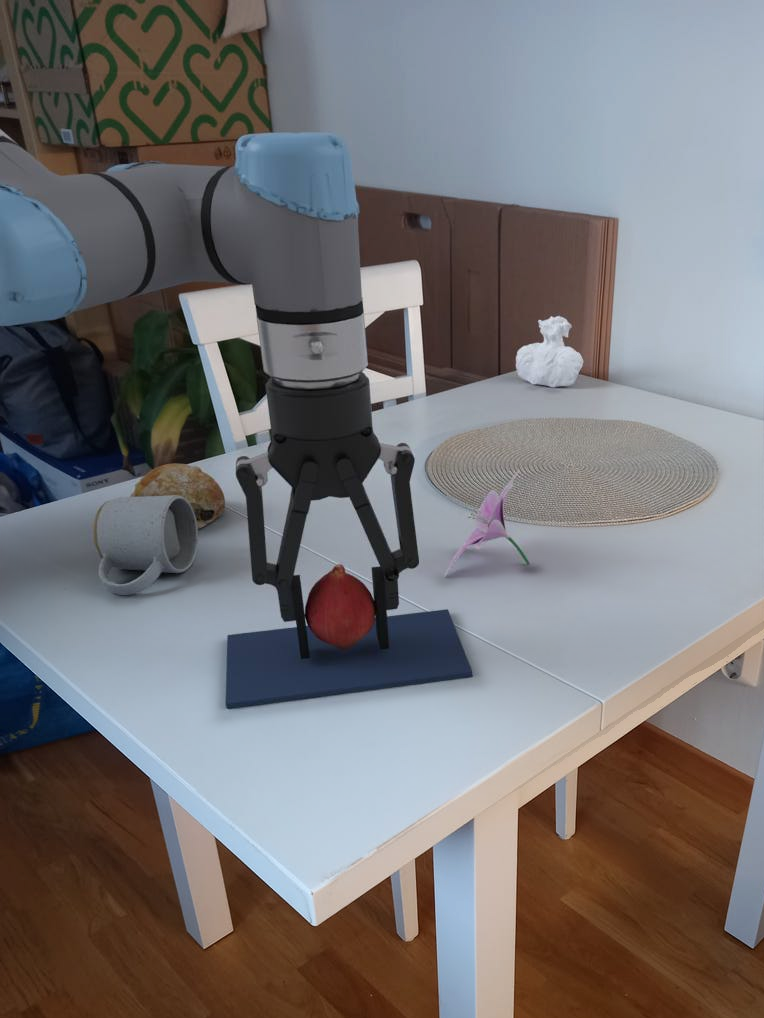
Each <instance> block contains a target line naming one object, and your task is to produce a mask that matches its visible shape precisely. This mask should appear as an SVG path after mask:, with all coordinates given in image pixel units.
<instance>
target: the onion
mask: <svg viewBox="0 0 764 1018" xmlns="http://www.w3.org/2000/svg"><path fill="white" fill-rule="evenodd" d="M375 610H376V606H375V602H374V596H373V594H372V593H371V591H370V590H369V588H368V587H367V586H366V585H365V583H363V582H362V581H361V580H360V579H359V578H358V577H356V576H354V575H352V574H350V573H347V571H346V568H345V566H344V564H341V563H337V564H336V565H334V566H333V567H332V569H331V570H330V571H329V572H327V573H326V574H324V575H323V576H322V577H321V578H320V579H318V581H316V582H315V583H314V585H312V587H311V589H310V590H309V593H308V595H307V599H306V603H305V606H304V613H305V621H306V626H309V628H310V630H311V631H312V632H313V634H314V635H315V636H316V637H317V638H318V639H320V640H321V641H323V642H325V643H327V644H329V645H332V646H334V647H337V648H339V649H342V650H347V649H350V648H351V647H352V646H353V645H354V644H355V643H357V642H359V641H360V640H361V639H362V638H363V637H364V636H365V635H366V634H367V633H368V632H369V631H370V630H371V628H372V626H373V624H374V621H375Z"/></svg>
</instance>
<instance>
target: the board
mask: <svg viewBox="0 0 764 1018" xmlns="http://www.w3.org/2000/svg"><path fill="white" fill-rule="evenodd" d="M387 623H388V638H389V649H381V650H380V646H379V641H378V637H377V632H376V619H375V621H374V624H373V626H372V628H371V630H370V631H369V632H368V633H367V634H366V635H365V636H364V637H363V638H362V639H361V640H360V641H359V642H357V643H355V644H354V645H353V646H352V647H351V648H350V649H347V650H342V649H339V648H337V647H334V646H332V645H329V644H327V643H325V642H323V641H321V640H320V639H318V638H317V637H316V636H315V635H314V634H313V632H312V631H311V630H310V628H309V626H308V625H306V629H307V637H308V646H309V654H310V658H307V659H301V656H300V648H299V640H298V633H297V626H293V627H292V626H291V627H283V628H275V629H268V630H267V629H266V630H259V631H252V632H251V631H249V632H244V633H243V632H241V633H234V634H227V639H226V641H227V642H226V647H227V648H226V673H225V675H226V676H225V708H226V709H234V708H242V707H243V708H244V707H249V706H257V705H258V706H259V705H266V704H272V703H280V702H287V701H289V702H290V701H296V700H303V699H310V698H318V697H327V696H333V695H341V694H348V693H356V692H357V693H358V692H363V691H373V690H378V689H379V690H380V689H386V688H394V687H401V686H402V687H403V686H410V685H417V684H425V683H432V682H441V681H447V680H456V679H464V678H469V677H473V672H474V671H473V668H472V666H471V664H470V662H469V659H468V657H467V655H466V652H465V649H464V647H463V643H462V642H461V639H460V636H459V634H458V631H457V629H456V627H455V624H454V622H453V619H452V615H451V614H450V610H449V609H448V608H445V609H439V610H438V609H437V610H429V611H420V612H412V613H411V612H410V613H403V614H395V615H387Z"/></svg>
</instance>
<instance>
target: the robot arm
mask: <svg viewBox="0 0 764 1018" xmlns="http://www.w3.org/2000/svg"><path fill="white" fill-rule="evenodd" d="M234 149H235V150H234V151H235V152H234V153H235V161H234V165H228V166H219V165H217V166H216V165H197V164H176V163H165V162H164V161H154V160H149V161H145V162H132V163H124V164H123V163H122V164H117V165H114V166H111V167H109V168H108V169H107V170H106V171H102V172H88V173H77V174H67V175H60V174H57V173H55V172H53V171H51V170H50V169H49V168H48V167H46V166H45V165H44V164H43V163H42V162H41V161H39V160H38V159H37V158H36V157H34V156H33V155H32V154H31V153H30V152H28V151H27V150H25V149H24V148H23V147H22V146H21V145H19V143H18V142H16V141H15V140H14V139H13V138H11V137H10V136H9V135H8V134H7V133H6V132H5V131H3V130H2V129H1V128H0V327H10V326H17V325H22V324H23V325H24V324H30V323H36V322H37V323H40V322H44V321H55V320H58V319H61V318H64V317H67V316H68V315H69V314H71V313H76V312H78V311H83V310H87V309H90V308H94V307H97V306H100V305H104V304H107V303H111V302H115V301H119V300H123V299H126V298H127V299H128V298H134V297H137V296H141V295H145V294H149V293H152V292H156V291H159V290H163V289H167V288H171V287H172V288H173V287H176V286H179V285H183V284H188V283H194V282H204V283H205V282H207V283H224V284H225V283H226V284H235V285H242V286H243V285H244V286H245V285H246V286H249V285H251V289H252V295H253V302H254V305H255V315H256V324H257V330H258V331H257V332H258V338H259V346H260V353H261V361H262V367H263V372H264V373H265V374H267V375H268V376H269V378H268V380H267V382H266V383H265V393H266V400H267V401H266V402H267V409H268V416H269V425H270V432H271V433H270V434H271V439H270V442H269V444H268V446H267V451H266V452H264V453H260V454H258V455H255V456H253V457H249V456H246V455H243V456H242V455H240V456H239V457H237V458H236V460H235V477H236V480H237V481H238V484H239V486H240V488H241V490H242V492H243V495H244V497H245V502H246V503H245V504H246V516H247V531H248V543H249V544H248V545H249V553H250V554H249V555H250V556H249V557H250V568H251V579H252V582H253V584H255V585H257V586H262V585H265V584H266V585H270V586H272V587H274V588H275V589H276V591H277V597H278V605H279V606H278V607H279V612H280V613H279V614H280V618H281V619H282V621H283V623H287V622H295V624H296V627H297V633H298V640H299V648H300V656H301V659H307V658H310V654H309V646H308V637H307V629H306V626H307V621H306V618H305V606H304V597H303V591H302V582H301V574H295V570H296V566H297V561H298V558H299V557H298V556H299V553H300V548H301V544H302V540H303V539H302V538H303V534H304V530H305V526H306V521H307V517H308V515H309V512H310V509H311V508H310V507H311V503H312V501H321V500H323V499H326V498H336V499H337V498H338V499H346V498H349V500H350V502H351V504H352V506H353V509H354V510H355V513H356V515H357V517H358V519H359V522H360V524H361V527H362V529H363V531H364V533H365V535H366V537H367V540H368V542H369V544H370V546H371V549H372V552H373V554H374V556H375V559H376V560H377V562H378V566H372V567H370V568H371V578H372V579H371V580H372V591H373V592H372V593H373V594H372V595H373V599H374V602H375V606H376V610H375V619H376V632H377V637H378V641H379V646H380V650H381V649H389V638H388V623H387V616H388V612H387V611H392V610H397V609H398V608H399V605H400V595H399V594H400V593H399V580H398V579H399V578H400V573H401V572H403V571H405V570H407V569H410V570H413V569H416V568H417V567H418V566H419V565H420V557H419V550H418V548H419V547H418V540H417V539H418V538H417V531H416V525H415V524H416V523H415V516H414V515H415V514H414V508H413V507H414V506H413V498H412V490H411V484H410V483H411V479H412V474H413V470H414V467H415V466H414V465H415V461H416V458H415V456H414V453H413V452H412V449H411V447H410V446H409V444H407V443H406V442H400V443H398V444H396V445H392V444H387V443H382V442H380V440H379V438H378V437H377V435H376V434H375V432H374V427H373V414H372V400H371V399H372V398H371V386H370V379H369V377H368V376H367V375H366V374H365V373H364V372H363V371H364V370H366V368H367V367H368V365H369V360H368V349H367V348H368V347H367V336H366V335H367V334H366V323H365V322H366V321H365V311H364V301H363V299H364V298H363V292H362V290H363V289H362V276H361V275H362V274H361V273H362V272H361V257H360V256H361V255H360V237H359V236H360V235H359V214H360V204H359V201H358V200H357V194H356V193H357V192H356V185H355V177H354V170H353V162H352V153H351V151H350V150H351V149H350V147H349V145H348V144H347V142H346V140H344V139H343V138H342V137H340V136H339V135H337V134H336V133H331V132H317V131H315V132H313V131H304V132H303V131H301V132H287V131H286V132H259V133H248V134H244V135H242V136H240V137H239V138H238V139H237V141H236V144H235V148H234ZM378 460H381V461H382V462H383V467H384V470H385V472H386V473H387V474H388V475H390V483H391V490H392V497H393V498H392V499H393V505H394V513H395V522H396V527H397V534H398V535H397V536H398V544H399V548H398V549H397V550H394V551H392V550H391V547H390V545H389V543H388V540H387V538H386V536H385V533H384V531H383V529H382V526H381V524H380V523H379V522H380V521H379V519H378V517H377V514H376V513H375V509H374V508H373V505H372V503H371V501H370V498H369V496H368V494H367V491H366V488H365V485H364V484H363V483H364V482H365V480H366V479H367V478H368V475H369V474H370V473H371V471H372V469H373V468H374V466H375V464H376V463H377V462H378ZM271 469H274V471H276V473H277V474H278V475H279V476H280V477H281V478H282V479H283V480H284V481H285V482H286V483H287V484H288V485H289V486H290V487H291V490H290V494H289V495H290V497H289V503H288V507H287V511H286V517H285V522H284V527H283V531H282V535H281V541H280V545H279V551H278V555H277V559H276V563H271V562H268V557H267V541H266V529H265V515H264V513H265V511H264V500H263V487H264V486H266V484H267V483H268V481H269V480H268V479H269V478H268V477H269V476H268V473H269V471H270V470H271Z"/></svg>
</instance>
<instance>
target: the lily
mask: <svg viewBox="0 0 764 1018" xmlns="http://www.w3.org/2000/svg"><path fill="white" fill-rule="evenodd" d="M520 471H521V469H519V470H518V471H517V472H516V473H515V474H514V475H513V476H512V478H511V479H510V480H509V482H508V483H507V484H506V485H505V486H504V488H503V490H502V491H501V493H500V495H499V494H498V493H497V491H495V489H491V490H490V491H489V493H488V494H487V495H486V497H485V498H484V500H483V501H482V503H481V505H480V507H479V509H478V510H475V511H474V513H476V514H474V513H472V512H471V513H470V515H471V516H467V518H468V519H473V520H475V526H476V527H474V529H473V530H472V532H470V534H469V535H468V537H467V539H466V540H465V541H464V543H463V545H462V546H461V547H460V548H458V550H457V552H456V553H455V554H454V556H453V558H452V560H451V561H450V563H449V565H448V567H447V569H446V571H445V574H444V577H446V576H447V575H448V573H449V572H450V570H451V568H452V567H453V565H454V564H455V563H456V561H457V560H458V558H459V557H460V556H461V555H462V553H464V551H465V550H466V549H468V547H470V546H472V545H473V548H474V549H475V550H479V549H481V547H482V545H483V543H486V542H489V541H494V540H497V539H499V538H506V539H507V540H508V541H509V542H510V543H511V544H512V545H513V546H514V548H515V549H516V550H517V551H518V553H519V554H520V555H521V557H522V558H523V561H524V562H525V564H526V565H527V566H529V565H530V564H531V563H530V561H529V559H528V558H527V556H526V555H525V554H524V552H523V550H522V549H521V548H520V546H519V545H518V544H517V543H516V542H515V540H514V539H513V538H512V537H511V536H510V535H509V534H508V532H507V530H506V524H505V522H506V521H505V502H506V501H505V500H506V497H507V494H508V493H509V491H510V490H511V489H512V487H513V486H514V481H515V479H516V477H517V476H518V474H519V472H520Z"/></svg>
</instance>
